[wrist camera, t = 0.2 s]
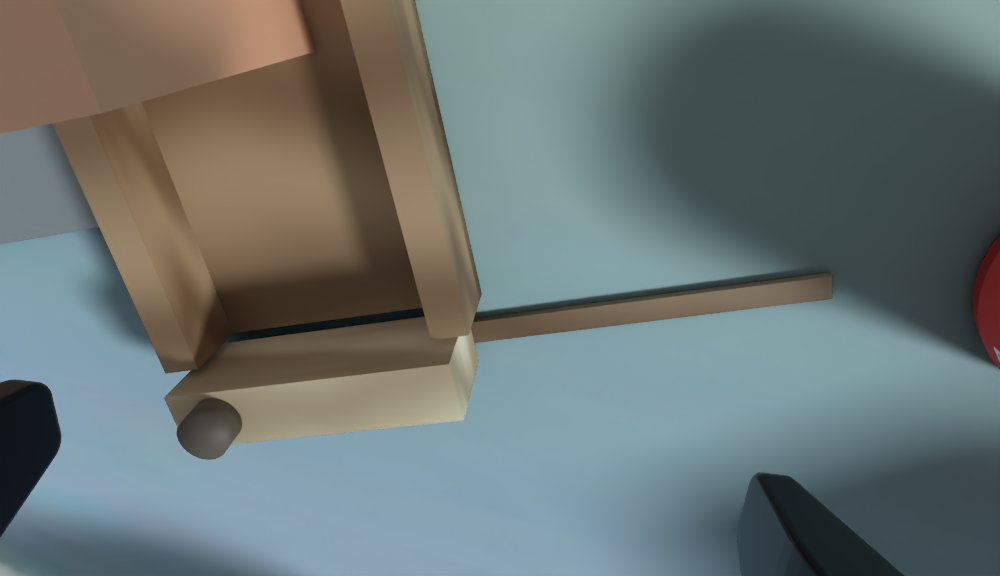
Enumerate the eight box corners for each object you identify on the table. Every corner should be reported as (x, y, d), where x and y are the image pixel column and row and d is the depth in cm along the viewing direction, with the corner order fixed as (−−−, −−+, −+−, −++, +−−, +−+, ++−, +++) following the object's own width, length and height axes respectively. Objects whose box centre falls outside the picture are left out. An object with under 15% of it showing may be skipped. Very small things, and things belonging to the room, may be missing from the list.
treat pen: (829, 294, 22) (863, 339, 19) (218, 370, 26) (176, 416, 23) (825, -379, 16) (878, -455, 13) (5, -143, 19) (-89, -162, 17)
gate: (478, 361, 24) (458, 440, 20) (236, 390, 26) (170, 468, 22) (466, 311, 23) (442, 382, 19) (217, 344, 25) (145, 416, 21)
